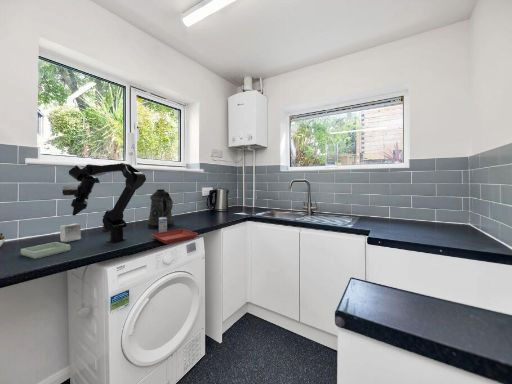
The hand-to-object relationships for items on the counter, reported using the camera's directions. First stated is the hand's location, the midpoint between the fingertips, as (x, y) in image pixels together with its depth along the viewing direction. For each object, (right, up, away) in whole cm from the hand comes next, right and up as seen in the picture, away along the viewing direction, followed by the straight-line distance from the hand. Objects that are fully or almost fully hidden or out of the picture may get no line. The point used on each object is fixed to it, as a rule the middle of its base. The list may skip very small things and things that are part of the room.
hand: (74, 210), depth 120 cm
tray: (+6, -16, -23) cm, 29 cm away
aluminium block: (0, -15, -2) cm, 15 cm away
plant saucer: (+54, -16, 0) cm, 56 cm away
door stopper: (+6, -14, +22) cm, 27 cm away
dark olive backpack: (+34, -13, +31) cm, 48 cm away
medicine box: (+42, -14, +14) cm, 46 cm away
